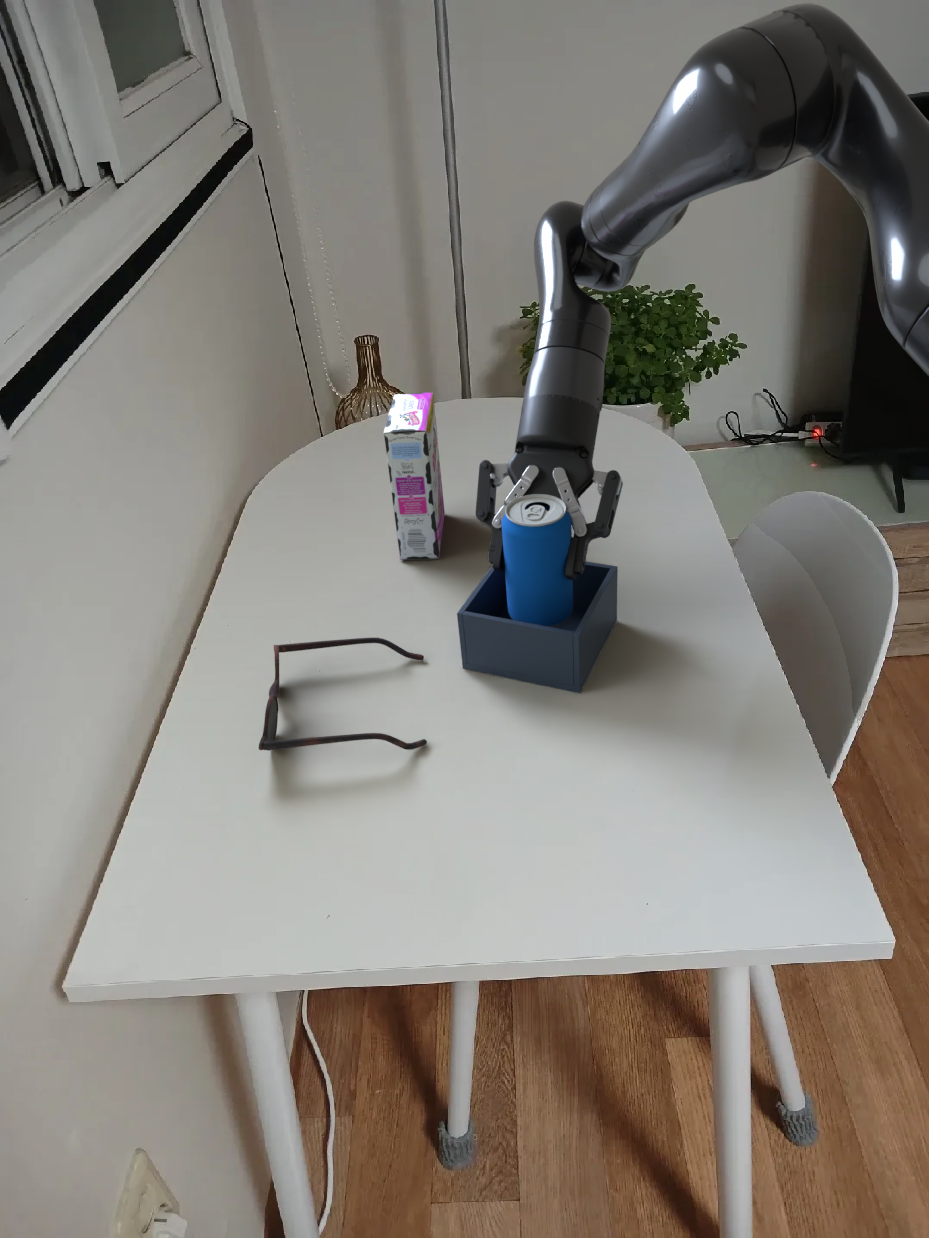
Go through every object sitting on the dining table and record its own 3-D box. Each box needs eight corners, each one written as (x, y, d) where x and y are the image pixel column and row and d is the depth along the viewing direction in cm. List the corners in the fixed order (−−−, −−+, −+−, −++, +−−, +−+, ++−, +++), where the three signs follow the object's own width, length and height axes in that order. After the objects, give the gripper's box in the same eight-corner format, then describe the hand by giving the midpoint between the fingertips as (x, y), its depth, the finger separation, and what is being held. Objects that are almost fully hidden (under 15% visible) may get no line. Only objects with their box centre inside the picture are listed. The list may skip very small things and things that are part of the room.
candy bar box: (442, 560, 111) (427, 430, 102) (399, 562, 112) (380, 433, 102) (447, 513, 120) (434, 389, 111) (408, 515, 121) (391, 392, 111)
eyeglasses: (278, 669, 97) (268, 630, 94) (423, 653, 97) (418, 613, 94) (264, 771, 85) (252, 729, 82) (430, 752, 85) (424, 710, 82)
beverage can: (578, 598, 96) (576, 493, 89) (566, 636, 91) (563, 529, 84) (516, 593, 98) (509, 489, 91) (501, 630, 93) (493, 524, 86)
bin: (617, 621, 99) (617, 566, 95) (580, 693, 90) (579, 636, 86) (507, 601, 103) (504, 548, 99) (462, 668, 95) (456, 613, 91)
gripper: (480, 387, 91) (450, 557, 89) (630, 395, 86) (603, 574, 84) (500, 416, 98) (473, 574, 96) (640, 424, 93) (615, 590, 91)
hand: (534, 573), depth 90 cm, fingers closed on beverage can, 6 cm apart
